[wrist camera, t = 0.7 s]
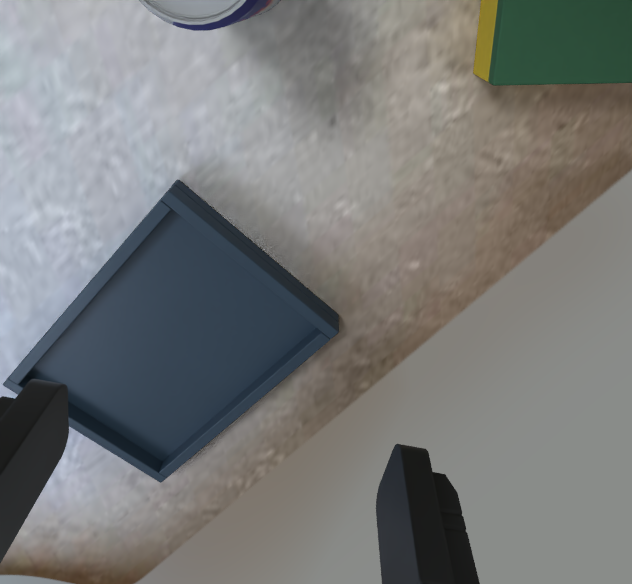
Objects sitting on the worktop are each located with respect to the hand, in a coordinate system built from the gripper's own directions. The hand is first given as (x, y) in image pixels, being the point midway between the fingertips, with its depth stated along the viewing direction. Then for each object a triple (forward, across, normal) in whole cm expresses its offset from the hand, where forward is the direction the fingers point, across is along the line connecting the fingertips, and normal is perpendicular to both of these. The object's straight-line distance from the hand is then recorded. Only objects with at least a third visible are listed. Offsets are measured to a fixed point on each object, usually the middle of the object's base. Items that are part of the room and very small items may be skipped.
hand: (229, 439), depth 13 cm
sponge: (+22, -12, -11) cm, 27 cm away
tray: (+22, +6, +14) cm, 26 cm away
